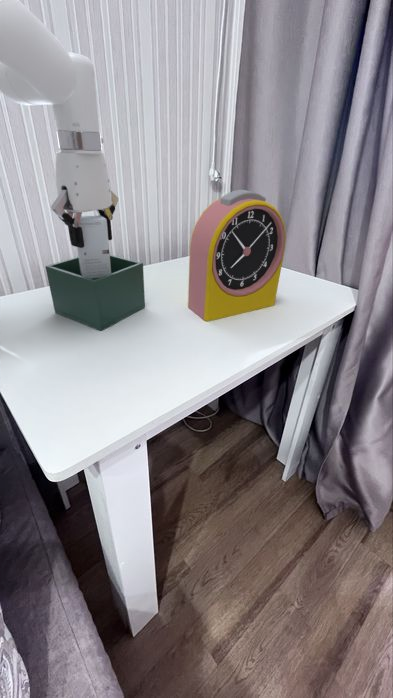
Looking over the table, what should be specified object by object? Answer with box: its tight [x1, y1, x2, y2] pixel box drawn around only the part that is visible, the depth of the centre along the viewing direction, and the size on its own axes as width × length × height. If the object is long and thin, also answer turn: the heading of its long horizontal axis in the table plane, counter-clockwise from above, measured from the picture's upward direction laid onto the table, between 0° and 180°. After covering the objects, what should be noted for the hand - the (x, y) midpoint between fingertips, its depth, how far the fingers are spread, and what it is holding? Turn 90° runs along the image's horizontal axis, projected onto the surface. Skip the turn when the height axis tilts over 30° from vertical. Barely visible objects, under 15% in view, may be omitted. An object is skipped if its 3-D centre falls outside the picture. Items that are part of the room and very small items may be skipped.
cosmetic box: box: [76, 215, 111, 279], centre depth 70 cm, size 6×4×12 cm
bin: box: [45, 254, 146, 332], centre depth 75 cm, size 15×15×11 cm
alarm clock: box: [187, 189, 287, 322], centre depth 76 cm, size 21×9×26 cm, turn 120°
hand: (92, 242), depth 70 cm, fingers closed on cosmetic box, 7 cm apart
